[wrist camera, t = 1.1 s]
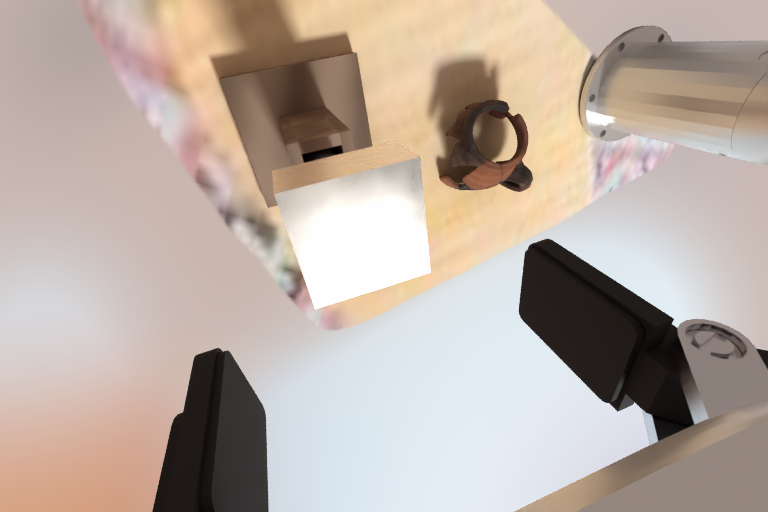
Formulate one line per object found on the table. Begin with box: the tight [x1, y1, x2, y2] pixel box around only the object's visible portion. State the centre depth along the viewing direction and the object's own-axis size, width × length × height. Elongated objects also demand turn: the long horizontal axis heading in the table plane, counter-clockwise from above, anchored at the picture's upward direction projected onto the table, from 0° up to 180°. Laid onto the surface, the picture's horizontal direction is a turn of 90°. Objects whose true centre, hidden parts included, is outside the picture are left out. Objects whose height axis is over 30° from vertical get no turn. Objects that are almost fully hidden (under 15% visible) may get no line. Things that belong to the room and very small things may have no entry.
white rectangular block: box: [272, 141, 430, 309], centre depth 21 cm, size 6×6×15 cm
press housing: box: [219, 53, 372, 208], centre depth 29 cm, size 12×12×12 cm
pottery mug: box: [440, 100, 533, 192], centre depth 38 cm, size 12×10×8 cm
